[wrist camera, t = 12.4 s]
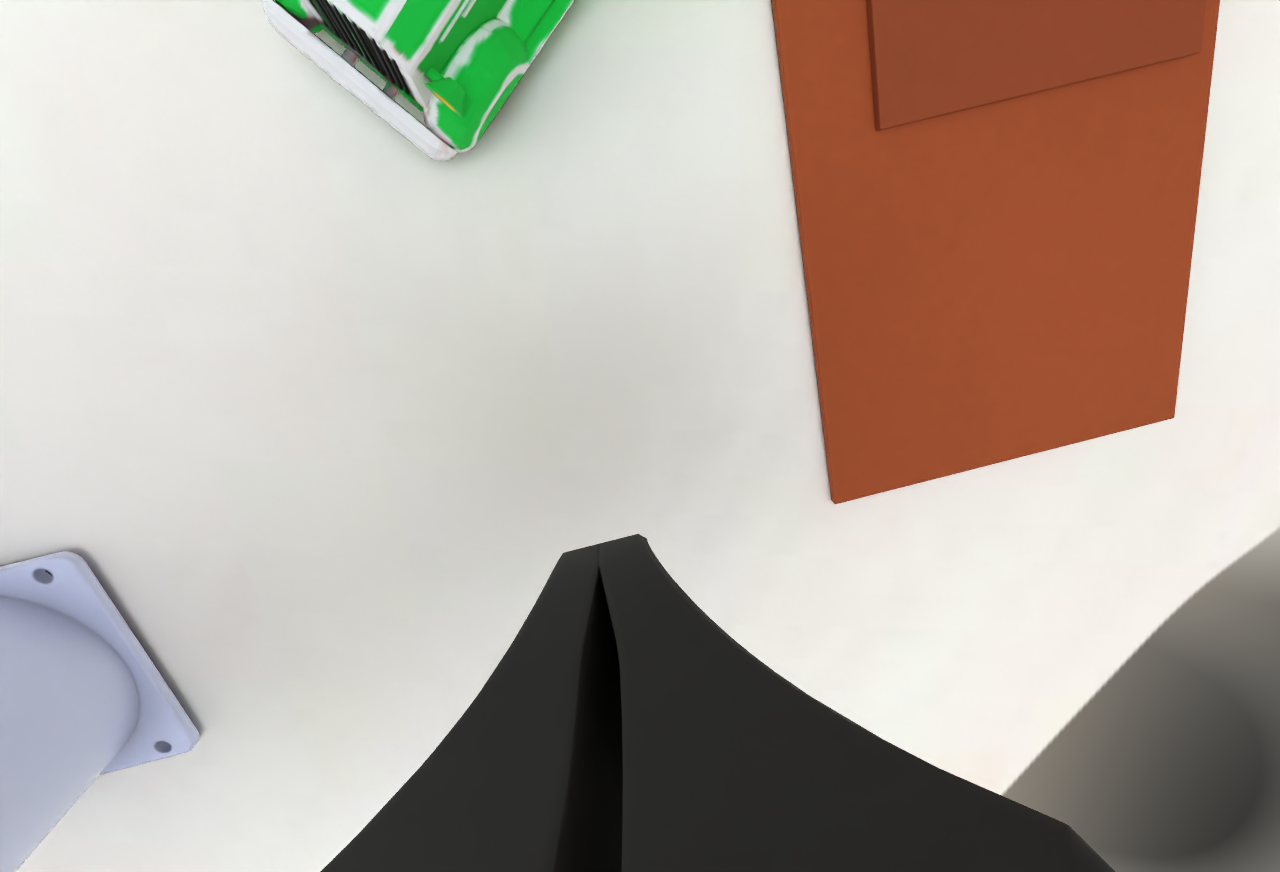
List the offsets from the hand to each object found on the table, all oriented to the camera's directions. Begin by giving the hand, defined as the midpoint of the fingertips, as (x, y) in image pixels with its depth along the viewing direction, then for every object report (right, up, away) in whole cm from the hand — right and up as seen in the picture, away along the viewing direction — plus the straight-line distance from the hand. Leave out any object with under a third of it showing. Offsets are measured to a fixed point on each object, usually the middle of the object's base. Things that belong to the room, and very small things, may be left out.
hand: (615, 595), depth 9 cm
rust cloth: (+11, +10, +8) cm, 17 cm away
